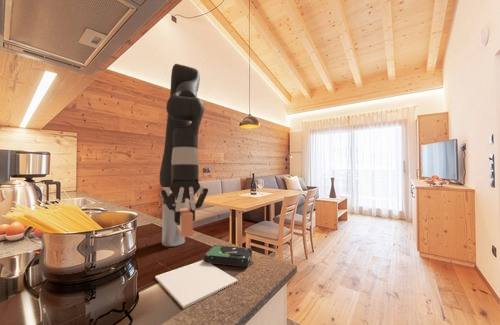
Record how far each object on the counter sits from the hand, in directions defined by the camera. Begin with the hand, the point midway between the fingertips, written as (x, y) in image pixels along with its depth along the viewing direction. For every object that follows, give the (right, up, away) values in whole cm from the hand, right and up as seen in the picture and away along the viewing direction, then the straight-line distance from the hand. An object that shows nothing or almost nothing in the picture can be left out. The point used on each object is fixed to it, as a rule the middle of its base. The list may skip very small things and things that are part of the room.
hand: (184, 223), depth 58 cm
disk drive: (+11, -16, +12) cm, 24 cm away
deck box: (0, -2, 0) cm, 2 cm away
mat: (+3, -16, -1) cm, 16 cm away
